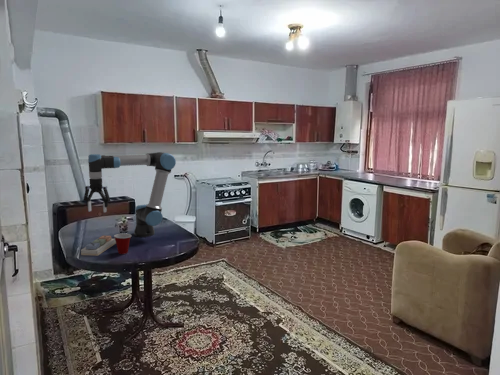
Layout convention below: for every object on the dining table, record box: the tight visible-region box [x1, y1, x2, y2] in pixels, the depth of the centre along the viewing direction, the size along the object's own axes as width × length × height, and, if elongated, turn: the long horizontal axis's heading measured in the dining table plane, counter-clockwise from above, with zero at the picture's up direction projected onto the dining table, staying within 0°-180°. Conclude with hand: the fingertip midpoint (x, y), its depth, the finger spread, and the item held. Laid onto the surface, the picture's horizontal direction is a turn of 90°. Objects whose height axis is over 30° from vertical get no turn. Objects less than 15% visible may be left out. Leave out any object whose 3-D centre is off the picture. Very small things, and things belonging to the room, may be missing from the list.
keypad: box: [80, 237, 116, 257], centre depth 231 cm, size 11×25×3 cm, turn 175°
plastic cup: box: [113, 233, 132, 255], centre depth 224 cm, size 11×11×12 cm
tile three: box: [85, 242, 100, 249], centre depth 223 cm, size 6×6×2 cm
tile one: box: [98, 235, 112, 241], centre depth 239 cm, size 6×6×2 cm
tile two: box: [91, 238, 106, 245], centre depth 231 cm, size 6×6×2 cm
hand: (97, 211), depth 228 cm, fingers open, 10 cm apart
